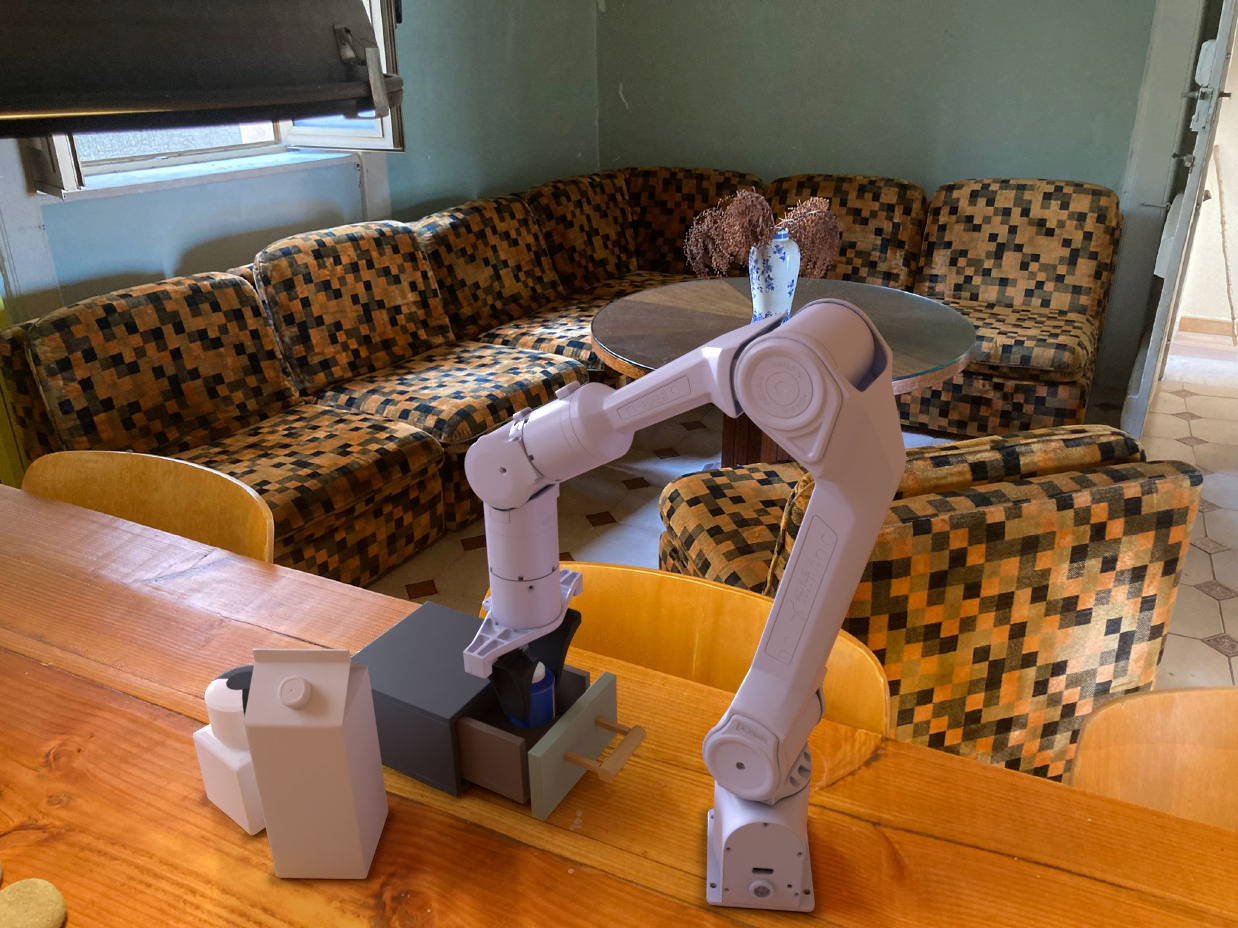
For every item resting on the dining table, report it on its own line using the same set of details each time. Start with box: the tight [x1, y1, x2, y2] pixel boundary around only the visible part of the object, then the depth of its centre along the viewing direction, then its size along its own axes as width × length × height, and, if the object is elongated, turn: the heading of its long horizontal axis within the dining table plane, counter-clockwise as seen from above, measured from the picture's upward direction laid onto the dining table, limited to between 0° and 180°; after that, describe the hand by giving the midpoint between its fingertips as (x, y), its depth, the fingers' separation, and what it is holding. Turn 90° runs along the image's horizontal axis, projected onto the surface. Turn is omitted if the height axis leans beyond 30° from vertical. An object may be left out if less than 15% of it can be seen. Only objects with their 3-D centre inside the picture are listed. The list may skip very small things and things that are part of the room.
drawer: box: [455, 653, 648, 822], centre depth 84 cm, size 17×12×7 cm
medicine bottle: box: [192, 664, 266, 836], centre depth 81 cm, size 7×7×12 cm
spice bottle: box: [508, 662, 556, 729], centre depth 83 cm, size 4×4×5 cm
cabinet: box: [350, 600, 530, 798], centre depth 89 cm, size 13×13×8 cm
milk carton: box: [244, 647, 389, 880], centre depth 74 cm, size 7×7×19 cm
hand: (532, 699), depth 84 cm, fingers closed on spice bottle, 4 cm apart
